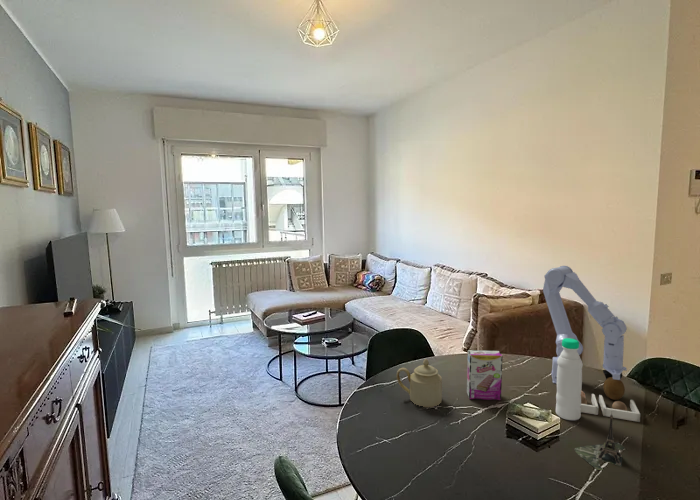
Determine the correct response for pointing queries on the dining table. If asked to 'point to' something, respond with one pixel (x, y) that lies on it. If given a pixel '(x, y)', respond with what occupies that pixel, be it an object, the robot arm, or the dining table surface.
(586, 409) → the trough left
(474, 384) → the candy bar box
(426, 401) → the sugar bowl
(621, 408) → the walnut ball
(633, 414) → the trough right
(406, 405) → the dining table surface
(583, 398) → the walnut ball
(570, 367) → the water bottle
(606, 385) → the fruit
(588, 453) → the eiffel tower figurine
